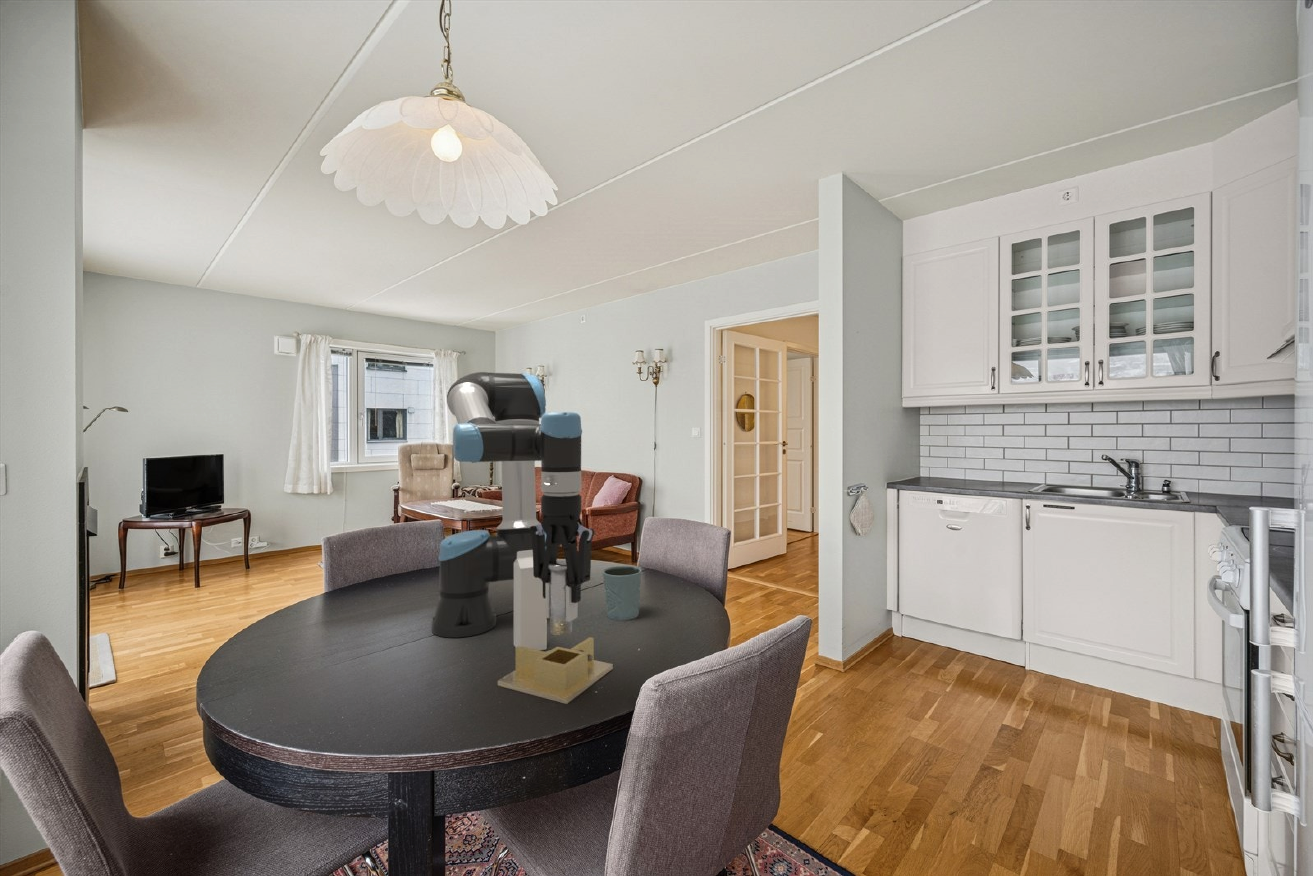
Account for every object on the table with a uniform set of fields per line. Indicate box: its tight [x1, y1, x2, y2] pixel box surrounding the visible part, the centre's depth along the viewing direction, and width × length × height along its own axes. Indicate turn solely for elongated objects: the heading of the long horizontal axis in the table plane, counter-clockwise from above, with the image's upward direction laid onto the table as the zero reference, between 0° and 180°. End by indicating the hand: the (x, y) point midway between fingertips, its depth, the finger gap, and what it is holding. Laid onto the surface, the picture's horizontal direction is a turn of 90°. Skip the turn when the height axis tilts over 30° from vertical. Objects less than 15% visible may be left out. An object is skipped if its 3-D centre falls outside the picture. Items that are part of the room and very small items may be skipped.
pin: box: [548, 560, 573, 636], centre depth 102 cm, size 5×5×13 cm
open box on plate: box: [497, 637, 613, 705], centre depth 107 cm, size 16×16×6 cm
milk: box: [513, 550, 548, 651], centre depth 121 cm, size 6×6×22 cm
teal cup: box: [602, 565, 642, 621], centre depth 143 cm, size 10×10×12 cm
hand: (561, 617), depth 102 cm, fingers closed on pin, 4 cm apart
